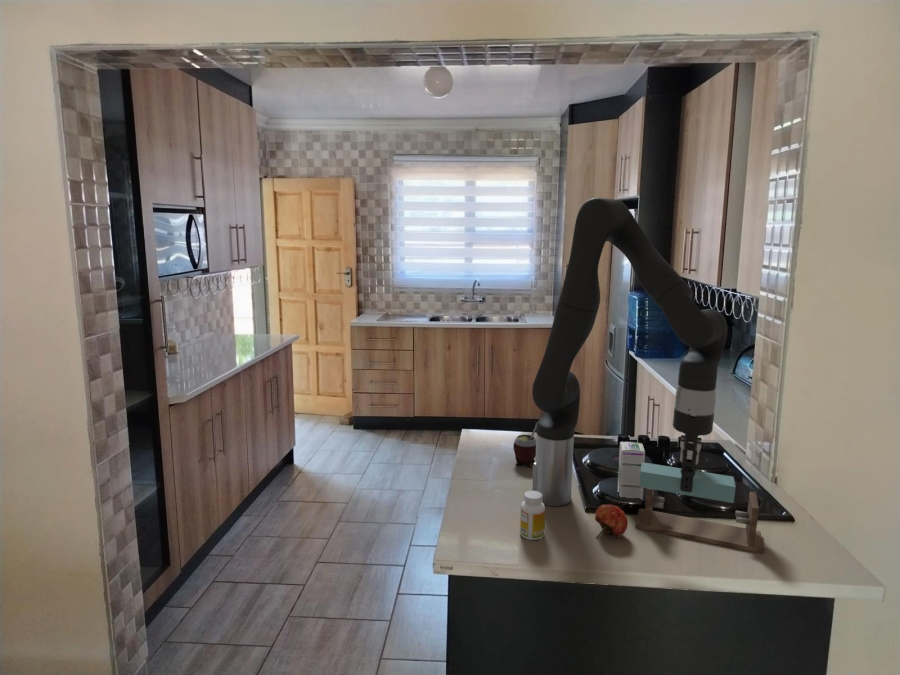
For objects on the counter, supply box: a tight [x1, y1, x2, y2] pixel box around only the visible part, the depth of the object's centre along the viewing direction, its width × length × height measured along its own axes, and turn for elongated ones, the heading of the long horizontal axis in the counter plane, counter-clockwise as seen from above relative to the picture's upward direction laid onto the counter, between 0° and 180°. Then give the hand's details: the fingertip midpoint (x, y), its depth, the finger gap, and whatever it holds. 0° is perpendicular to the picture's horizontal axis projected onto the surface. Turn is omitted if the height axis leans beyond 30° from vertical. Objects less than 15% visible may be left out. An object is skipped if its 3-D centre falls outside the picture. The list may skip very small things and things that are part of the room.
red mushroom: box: [594, 503, 629, 539], centre depth 128 cm, size 7×7×10 cm
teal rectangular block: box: [639, 461, 737, 504], centre depth 119 cm, size 18×5×4 cm, turn 69°
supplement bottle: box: [519, 490, 546, 541], centre depth 127 cm, size 5×5×10 cm
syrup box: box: [617, 441, 646, 500], centre depth 143 cm, size 6×6×14 cm
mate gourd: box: [512, 421, 538, 469], centre depth 165 cm, size 8×8×15 cm
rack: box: [635, 488, 765, 554], centre depth 129 cm, size 26×8×10 cm, turn 66°
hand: (686, 484), depth 119 cm, fingers closed on teal rectangular block, 5 cm apart
